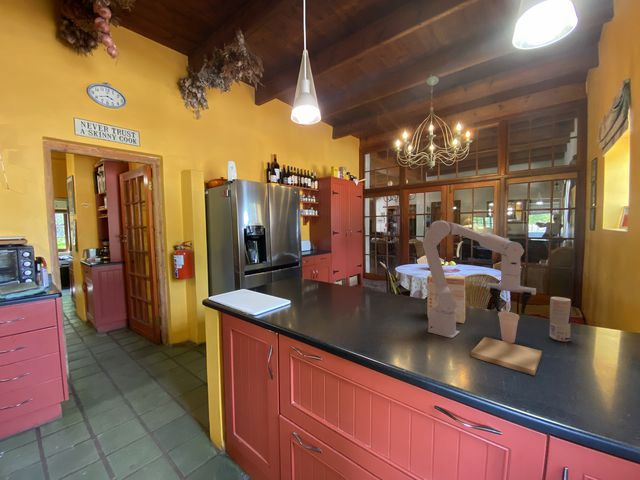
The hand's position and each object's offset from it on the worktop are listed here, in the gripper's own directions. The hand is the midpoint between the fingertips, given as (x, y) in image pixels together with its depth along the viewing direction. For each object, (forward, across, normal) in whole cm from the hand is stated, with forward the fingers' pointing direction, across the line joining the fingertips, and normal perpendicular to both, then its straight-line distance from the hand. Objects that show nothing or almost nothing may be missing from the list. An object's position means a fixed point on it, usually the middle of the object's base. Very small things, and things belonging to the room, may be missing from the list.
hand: (509, 310), depth 98 cm
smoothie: (+11, 0, +2) cm, 11 cm away
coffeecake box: (+11, +25, -7) cm, 28 cm away
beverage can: (+11, -13, -12) cm, 20 cm away
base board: (+10, -2, +16) cm, 20 cm away
